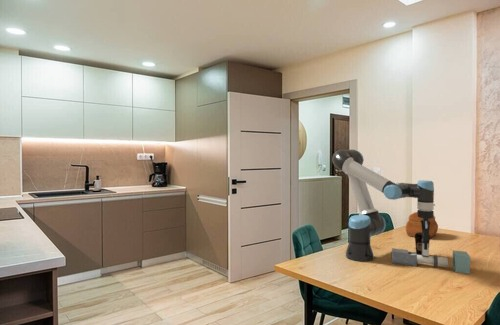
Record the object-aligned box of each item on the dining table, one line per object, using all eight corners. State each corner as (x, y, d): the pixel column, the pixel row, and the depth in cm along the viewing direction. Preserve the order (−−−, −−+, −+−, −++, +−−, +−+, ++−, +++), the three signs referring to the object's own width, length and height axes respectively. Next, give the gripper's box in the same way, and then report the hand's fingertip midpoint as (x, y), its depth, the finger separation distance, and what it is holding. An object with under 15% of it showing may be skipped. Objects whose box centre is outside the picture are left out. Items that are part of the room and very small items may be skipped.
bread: (439, 234, 236) (439, 211, 236) (430, 240, 221) (430, 215, 221) (413, 231, 249) (413, 209, 248) (403, 236, 233) (403, 212, 233)
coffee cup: (432, 258, 182) (433, 235, 182) (417, 257, 183) (417, 234, 183) (427, 253, 190) (427, 231, 190) (412, 253, 192) (412, 231, 192)
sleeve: (391, 263, 173) (391, 251, 173) (392, 260, 179) (392, 248, 179) (416, 266, 168) (417, 254, 168) (416, 262, 174) (416, 250, 174)
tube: (393, 262, 173) (394, 237, 173) (393, 259, 178) (394, 234, 178) (448, 269, 163) (448, 242, 163) (446, 265, 168) (446, 239, 168)
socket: (455, 272, 160) (455, 255, 160) (452, 266, 168) (452, 250, 168) (469, 273, 158) (470, 256, 157) (466, 268, 166) (466, 251, 166)
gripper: (435, 212, 160) (435, 259, 161) (432, 208, 175) (431, 251, 175) (418, 211, 163) (418, 257, 164) (416, 207, 178) (416, 249, 178)
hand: (425, 254), depth 169 cm, fingers closed on tube, 3 cm apart
